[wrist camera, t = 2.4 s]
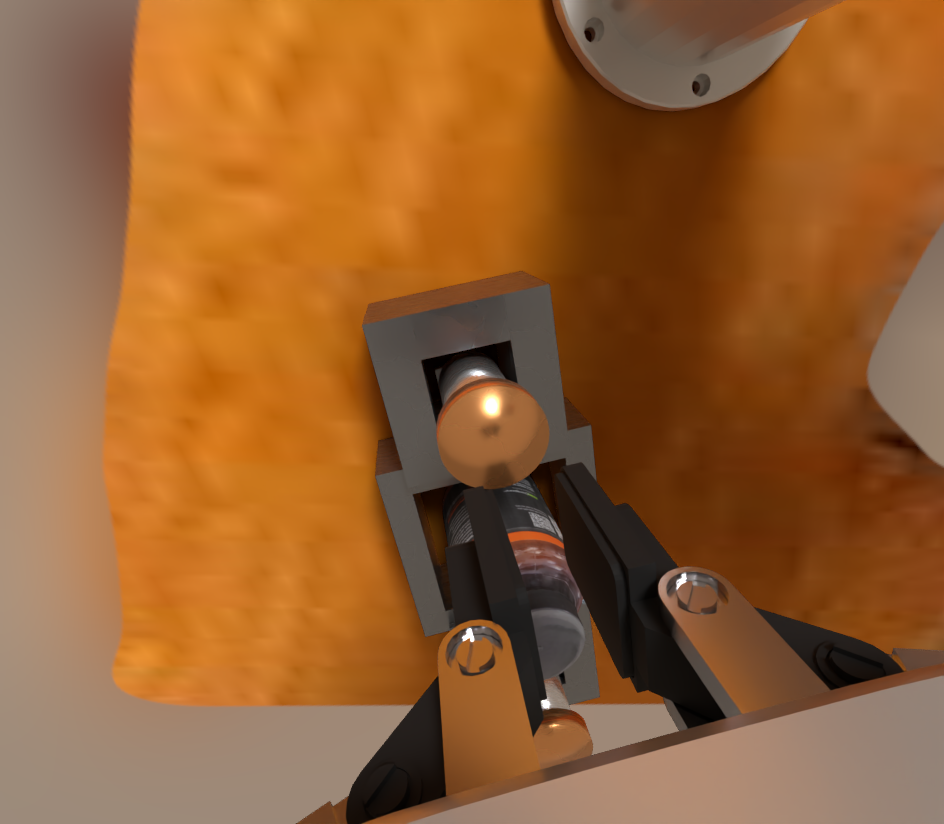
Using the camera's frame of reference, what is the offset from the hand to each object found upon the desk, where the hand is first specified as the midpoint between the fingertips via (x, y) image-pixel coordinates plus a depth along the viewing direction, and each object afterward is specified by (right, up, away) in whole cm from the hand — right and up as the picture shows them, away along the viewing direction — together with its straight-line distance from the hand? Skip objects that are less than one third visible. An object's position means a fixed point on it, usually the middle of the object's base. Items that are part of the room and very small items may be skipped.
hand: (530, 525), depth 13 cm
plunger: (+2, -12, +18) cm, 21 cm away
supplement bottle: (0, -2, +18) cm, 18 cm away
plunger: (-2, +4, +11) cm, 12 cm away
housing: (0, -2, +17) cm, 18 cm away
